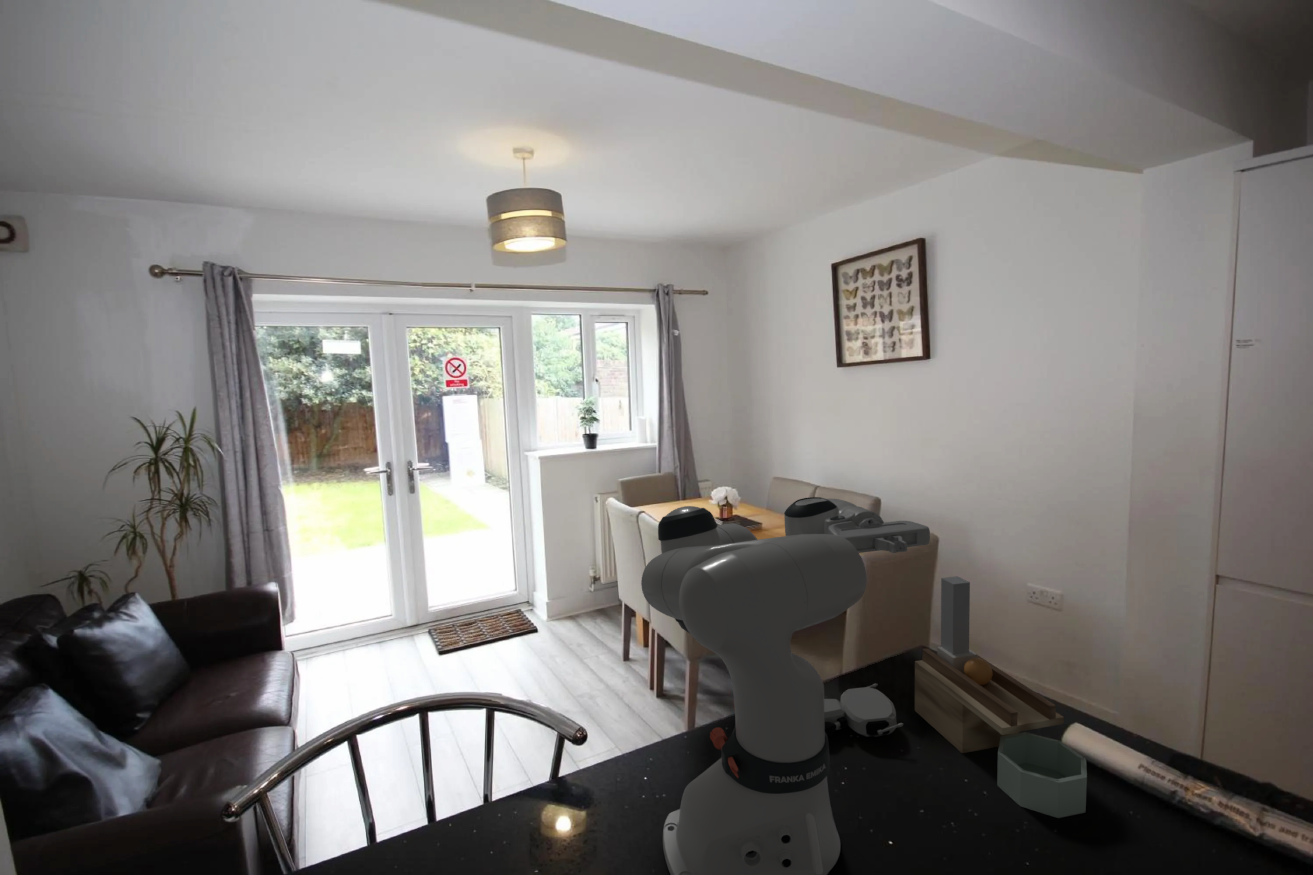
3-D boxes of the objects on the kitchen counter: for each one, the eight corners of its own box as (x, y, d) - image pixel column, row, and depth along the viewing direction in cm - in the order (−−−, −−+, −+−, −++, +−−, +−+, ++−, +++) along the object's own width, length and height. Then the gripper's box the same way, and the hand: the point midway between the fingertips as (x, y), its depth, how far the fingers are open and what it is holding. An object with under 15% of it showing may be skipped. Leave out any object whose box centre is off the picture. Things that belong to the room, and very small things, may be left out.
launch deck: (1001, 788, 85) (1002, 714, 84) (914, 710, 105) (914, 650, 103) (1062, 775, 87) (1064, 703, 86) (966, 702, 106) (966, 642, 105)
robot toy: (812, 755, 96) (908, 746, 95) (810, 729, 95) (906, 719, 94) (796, 712, 108) (881, 703, 107) (794, 688, 107) (879, 679, 107)
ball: (975, 691, 93) (976, 666, 93) (958, 678, 97) (958, 655, 97) (998, 687, 94) (998, 663, 94) (980, 675, 98) (980, 651, 98)
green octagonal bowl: (1038, 822, 79) (1039, 786, 78) (982, 771, 89) (982, 739, 88) (1104, 808, 80) (1106, 773, 80) (1042, 760, 90) (1043, 728, 90)
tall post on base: (952, 674, 98) (953, 586, 96) (937, 662, 102) (937, 578, 100) (976, 670, 99) (978, 583, 97) (960, 659, 103) (961, 575, 101)
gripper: (906, 539, 130) (949, 558, 117) (818, 549, 127) (852, 570, 113) (906, 510, 130) (949, 526, 116) (817, 520, 126) (851, 537, 112)
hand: (900, 548), depth 115 cm, fingers closed
